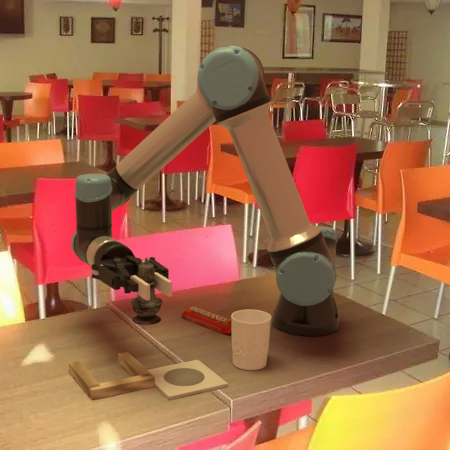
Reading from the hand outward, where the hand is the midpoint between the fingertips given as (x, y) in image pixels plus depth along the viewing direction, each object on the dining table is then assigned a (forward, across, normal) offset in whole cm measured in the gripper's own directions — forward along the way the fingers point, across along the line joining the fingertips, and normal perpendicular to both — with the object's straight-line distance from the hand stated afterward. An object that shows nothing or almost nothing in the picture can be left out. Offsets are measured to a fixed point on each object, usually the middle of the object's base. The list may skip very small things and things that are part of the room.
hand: (159, 290), depth 127 cm
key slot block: (-9, +6, -19) cm, 21 cm away
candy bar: (-25, -24, -19) cm, 39 cm away
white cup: (-2, -21, -19) cm, 28 cm away
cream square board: (-1, -6, -19) cm, 20 cm away
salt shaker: (-5, 0, -7) cm, 9 cm away
